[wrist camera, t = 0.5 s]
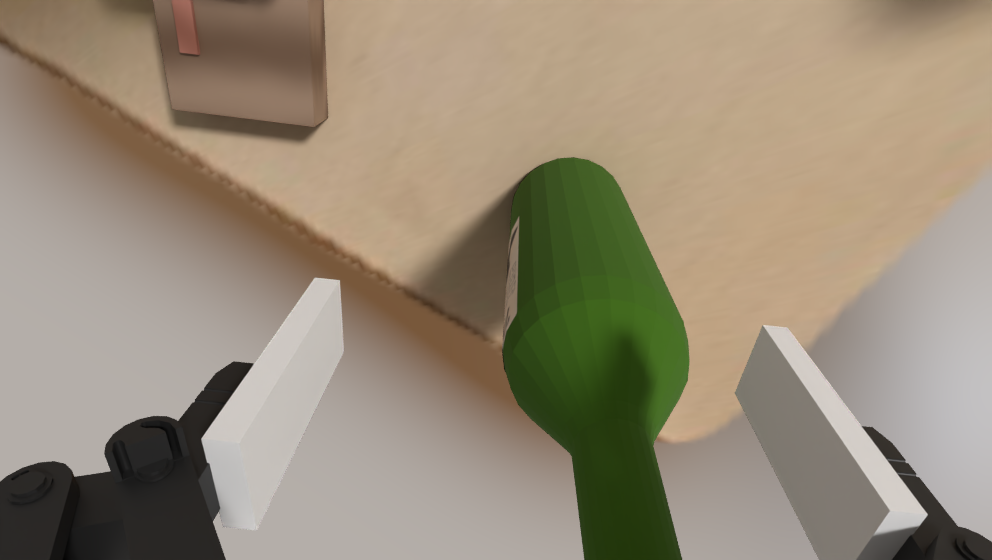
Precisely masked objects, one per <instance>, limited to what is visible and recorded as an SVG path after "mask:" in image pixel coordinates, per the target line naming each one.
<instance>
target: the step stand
mask: <svg viewBox="0 0 992 560" xmlns="http://www.w3.org/2000/svg"><path fill="white" fill-rule="evenodd" d="M153 4H154V10H155V16H156V21H157V27H158V33H159V38H160V44H161V50H162V55H163V61H164V67H165V72H166V78H167V84H168V89H169V95H170V101H171V106H172V109H174V110H182V111H190V112H198V113H206V114H214V115H222V116H230V117H238V118H246V119H254V120H262V121H270V122H278V123H286V124H294V125H302V126H310V127H315V126H317V125H318V124H320V123H321V122H323V121H324V120H326V119H327V118H328V103H327V78H326V52H325V27H324V1H323V0H153Z"/></svg>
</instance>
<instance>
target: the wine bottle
mask: <svg viewBox="0 0 992 560" xmlns="http://www.w3.org/2000/svg"><path fill="white" fill-rule="evenodd" d="M502 353H503V363H504V370H505V372H506V374H507V378H508V381H509V384H510V388H511V390H512V392H513V394H514V396H515V399H516V401H517V403H518V405H519V406H520V407H521V408H522V409H523V411H524V412H525V413H526V414H527V415H528V416H529V417H530V418H531V419H532V420H533V421H534V422H535V423H536V424H537V425H538V426H539V427H541V428H542V429H543V430H544V431H545V432H546V433H547V434H549V435H550V436H551V437H552V438H553V439H554V440H556V441H557V442H558V443H559V444H560V445H561V446H562V447H564V448H565V449H566V450H567V451H568V452H569V453H570V454H571V456H572V462H573V470H574V478H575V486H576V494H577V502H578V510H579V519H580V527H581V536H582V544H583V552H584V560H682V557H681V553H680V549H679V546H678V541H677V538H676V534H675V530H674V526H673V522H672V518H671V514H670V510H669V506H668V502H667V498H666V494H665V490H664V487H663V483H662V479H661V475H660V471H659V467H658V463H657V459H656V455H655V451H654V447H653V445H654V441H655V439H656V438H657V436H658V434H659V432H660V431H661V429H662V427H663V426H664V424H665V422H666V421H667V419H668V417H669V416H670V414H671V412H672V410H673V409H674V407H675V405H676V404H677V402H678V400H679V399H680V396H681V394H682V392H683V390H684V387H685V385H686V383H687V381H688V371H689V348H688V339H687V335H686V331H685V327H684V322H683V320H682V318H681V316H680V314H679V312H678V309H677V307H676V305H675V303H674V301H673V299H672V297H671V295H670V292H669V290H668V288H667V286H666V284H665V282H664V280H663V278H662V275H661V273H660V271H659V269H658V267H657V265H656V263H655V261H654V258H653V256H652V254H651V252H650V250H649V248H648V246H647V244H646V242H645V239H644V237H643V235H642V233H641V231H640V229H639V227H638V225H637V222H636V220H635V218H634V216H633V214H632V212H631V210H630V208H629V205H628V203H627V201H626V199H625V197H624V195H623V193H622V191H621V188H620V187H619V185H618V184H617V182H616V180H615V179H614V177H613V176H612V175H611V174H610V173H609V172H607V171H606V170H605V169H604V168H603V167H602V166H600V165H597V164H595V163H593V162H591V161H589V160H585V159H579V158H574V157H573V158H560V159H556V160H553V161H550V162H547V163H544V164H542V165H541V166H539V167H537V168H536V169H534V170H533V171H531V172H530V173H529V174H528V175H527V177H526V178H525V179H524V180H523V181H522V182H521V183H520V185H519V187H518V189H517V191H516V193H515V195H514V198H513V204H512V209H511V222H510V239H509V249H508V265H507V281H506V297H505V313H504V329H503V345H502Z"/></svg>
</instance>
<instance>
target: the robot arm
mask: <svg viewBox="0 0 992 560" xmlns="http://www.w3.org/2000/svg"><path fill="white" fill-rule="evenodd" d="M343 353H344V344H343V326H342V310H341V292H340V280H332V279H323V278H314V280H313V282H312V283H311V284H310V286H309V287H308V289H307V290H306V291H305V293H304V294H303V296H302V297H301V298H300V300H299V301H298V303H297V304H296V305H295V307H294V308H293V310H292V311H291V312H290V314H289V315H288V317H287V318H286V320H285V321H284V322H283V324H282V325H281V327H280V328H279V330H278V331H277V332H276V334H275V335H274V337H273V338H272V339H271V341H270V342H269V344H268V345H267V346H266V348H265V349H264V351H263V352H262V354H261V355H260V357H259V358H258V359H257V361H256V362H255V363H254V364H253V363H242V362H232V363H231V364H229V365H228V366H226V367H225V368H223V369H222V370H220V371H219V372H217V373H216V374H215V375H214V376H213V378H212V379H211V380H210V381H209V383H208V384H207V385H206V387H205V388H204V391H201V393H200V394H199V395H198V396H197V398H196V399H195V402H194V403H192V404H191V405H190V407H189V408H188V409H187V411H186V412H185V413H184V414H183V416H182V417H181V418H180V419H179V421H177V420H175V419H172V418H170V417H167V416H152V417H147V418H143V419H139V420H136V421H135V422H132V423H130V424H128V425H125V426H124V427H123V428H121V429H120V430H118V431H117V432H116V433H115V434H113V435H112V437H111V438H110V439H109V441H108V442H107V444H106V447H105V457H106V459H107V462H108V465H109V467H110V470H111V471H110V472H104V473H98V474H91V475H84V476H77V477H74V475H73V472H72V470H71V469H70V468H69V467H68V466H67V465H66V464H63V463H59V462H55V461H52V462H42V463H37V464H34V465H30V466H27V467H24V468H21V469H20V470H18V471H16V472H14V473H12V474H10V475H8V476H7V477H5V478H4V479H3V480H2V481H1V482H0V560H226V559H225V556H224V553H223V551H222V548H221V544H220V542H219V539H218V536H217V533H216V530H215V527H214V524H213V520H214V519H215V517H216V515H217V513H218V512H219V513H220V516H221V521H222V525H223V527H229V528H239V529H248V530H257V529H258V527H259V525H260V523H261V521H262V519H263V517H264V515H265V513H266V510H267V509H268V506H269V504H270V502H271V500H272V498H273V496H274V494H275V492H276V490H277V488H278V486H279V484H280V482H281V480H282V478H283V476H284V474H285V472H286V470H287V468H288V466H289V463H290V461H291V459H292V457H293V455H294V453H295V451H296V449H297V447H298V445H299V443H300V441H301V439H302V437H303V435H304V433H305V431H306V429H307V427H308V424H309V423H310V420H311V418H312V416H313V414H314V412H315V410H316V408H317V406H318V404H319V402H320V400H321V398H322V396H323V394H324V392H325V390H326V388H327V386H328V384H329V382H330V379H331V377H332V375H333V373H334V371H335V369H336V367H337V365H338V363H339V361H340V359H341V357H342V355H343ZM735 394H736V396H737V398H738V400H739V402H740V404H741V406H742V408H743V410H744V412H745V414H746V416H747V418H748V420H749V422H750V424H751V426H752V428H753V430H754V432H755V434H756V436H757V438H758V440H759V442H760V443H761V446H762V448H763V450H764V452H765V454H766V455H767V457H768V459H769V461H770V463H771V465H772V467H773V469H774V471H775V473H776V475H777V477H778V479H779V481H780V483H781V485H782V487H783V489H784V491H785V493H786V495H787V497H788V499H789V501H790V503H791V505H792V507H793V509H794V511H795V513H796V515H797V517H798V519H799V521H800V523H801V525H802V527H803V529H804V531H805V532H806V535H807V537H808V539H809V541H810V543H811V545H812V547H813V549H814V551H815V553H816V554H817V557H818V559H819V560H992V542H991V541H989V540H988V539H986V538H985V537H983V536H981V535H980V534H978V533H975V532H973V531H971V530H969V529H966V528H962V527H958V526H957V525H956V523H955V522H954V521H953V520H952V518H951V517H950V516H949V515H948V513H947V512H946V511H945V510H944V508H943V507H942V506H941V504H940V503H939V502H938V501H937V500H936V498H935V497H934V496H933V494H932V493H931V492H930V490H929V489H928V488H927V487H926V486H925V484H924V483H923V482H922V480H921V479H920V478H919V477H916V473H915V471H914V470H913V469H912V468H911V466H910V465H909V464H908V463H905V459H904V458H903V456H902V455H901V454H900V452H899V451H898V450H897V449H896V447H895V446H894V445H893V444H892V443H891V442H890V441H889V440H887V439H886V438H885V437H884V436H883V435H881V434H880V433H879V432H878V431H876V430H875V429H874V428H873V427H863V426H861V425H860V424H859V422H858V421H857V420H856V418H855V417H854V416H853V414H852V413H851V412H850V410H849V409H848V408H847V406H846V405H845V404H844V402H843V401H842V400H841V398H840V397H839V396H838V394H837V393H836V392H835V390H834V389H833V388H832V386H831V385H830V384H829V382H828V381H827V380H826V378H825V377H824V376H823V374H822V373H821V372H820V370H819V369H818V368H817V366H816V365H815V364H814V362H813V361H812V360H811V359H810V357H809V356H808V354H807V353H806V352H805V350H804V349H803V348H802V346H801V345H800V344H799V342H798V341H797V340H796V338H795V337H794V336H793V334H792V333H791V332H790V330H789V329H788V328H787V327H777V326H768V325H763V326H762V328H761V331H760V333H759V335H758V338H757V340H756V343H755V345H754V348H753V350H752V353H751V355H750V357H749V360H748V362H747V365H746V367H745V370H744V372H743V374H742V377H741V379H740V382H739V384H738V387H737V389H736V392H735Z"/></svg>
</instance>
